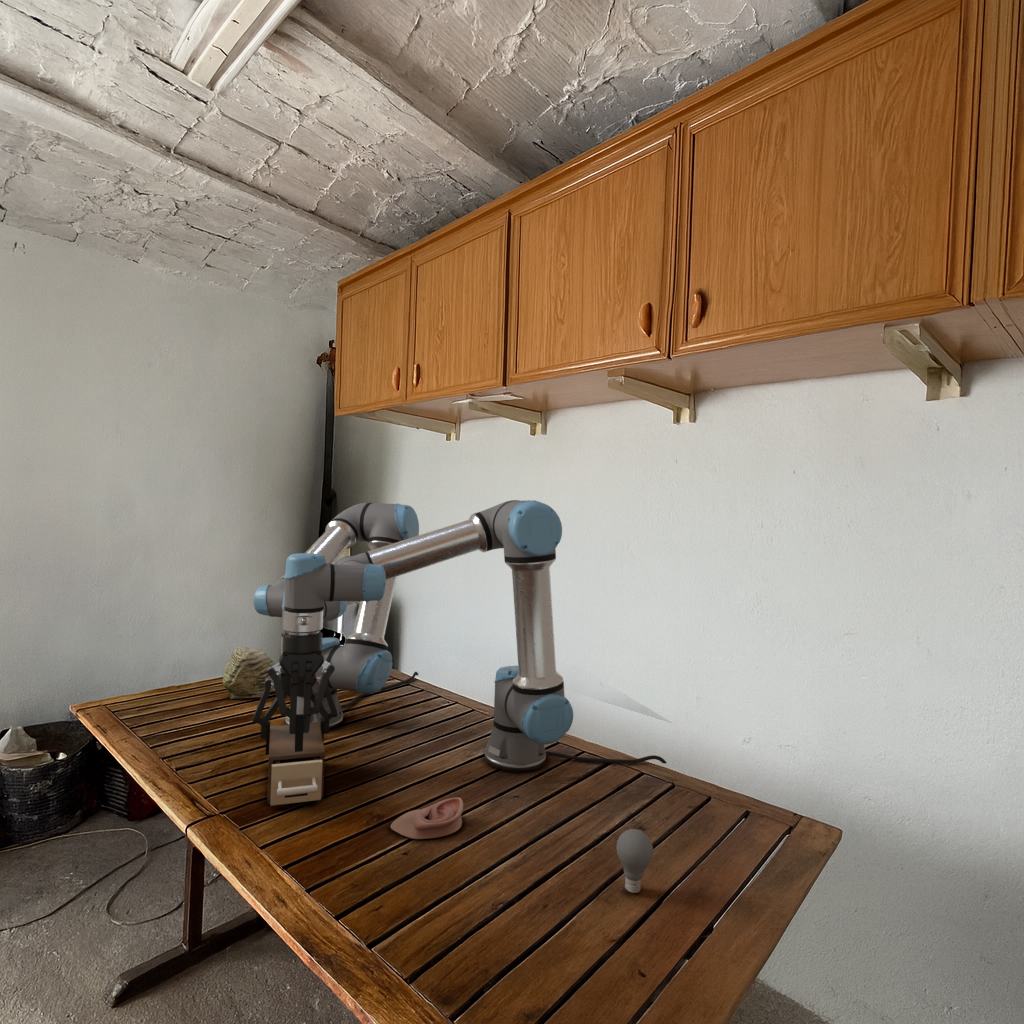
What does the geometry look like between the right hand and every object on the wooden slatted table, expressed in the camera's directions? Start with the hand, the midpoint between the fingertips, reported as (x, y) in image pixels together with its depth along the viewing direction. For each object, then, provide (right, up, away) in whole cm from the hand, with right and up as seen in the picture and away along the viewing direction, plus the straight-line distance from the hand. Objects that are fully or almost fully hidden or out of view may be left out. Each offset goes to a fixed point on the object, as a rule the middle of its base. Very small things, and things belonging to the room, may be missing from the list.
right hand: (298, 748), depth 126 cm
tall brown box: (-5, -12, +13) cm, 19 cm away
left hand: (-7, -7, +19) cm, 22 cm away
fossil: (-38, -10, +72) cm, 82 cm away
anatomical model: (+26, -14, -3) cm, 30 cm away
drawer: (-3, -12, +8) cm, 15 cm away
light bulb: (+63, -16, -21) cm, 68 cm away
